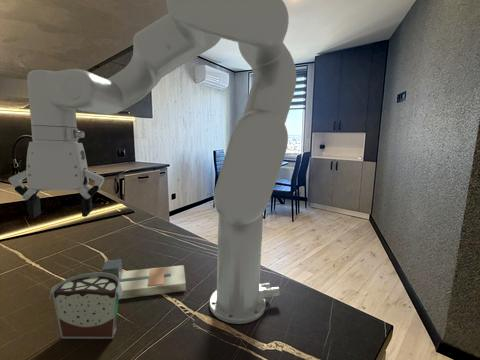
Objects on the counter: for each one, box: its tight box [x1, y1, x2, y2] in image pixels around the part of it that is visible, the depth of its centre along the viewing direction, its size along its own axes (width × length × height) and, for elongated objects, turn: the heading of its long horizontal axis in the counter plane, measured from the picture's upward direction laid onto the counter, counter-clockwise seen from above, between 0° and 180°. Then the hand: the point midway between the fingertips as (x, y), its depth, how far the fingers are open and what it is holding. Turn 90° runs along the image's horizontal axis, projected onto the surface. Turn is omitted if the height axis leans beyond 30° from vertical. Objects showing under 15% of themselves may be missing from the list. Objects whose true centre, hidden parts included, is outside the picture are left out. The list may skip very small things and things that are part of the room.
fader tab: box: [101, 258, 123, 281], centre depth 61 cm, size 4×4×4 cm
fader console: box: [118, 265, 187, 300], centre depth 63 cm, size 22×9×2 cm, turn 105°
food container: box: [48, 271, 122, 339], centre depth 49 cm, size 12×6×10 cm, turn 92°
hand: (61, 215), depth 55 cm, fingers open, 9 cm apart
